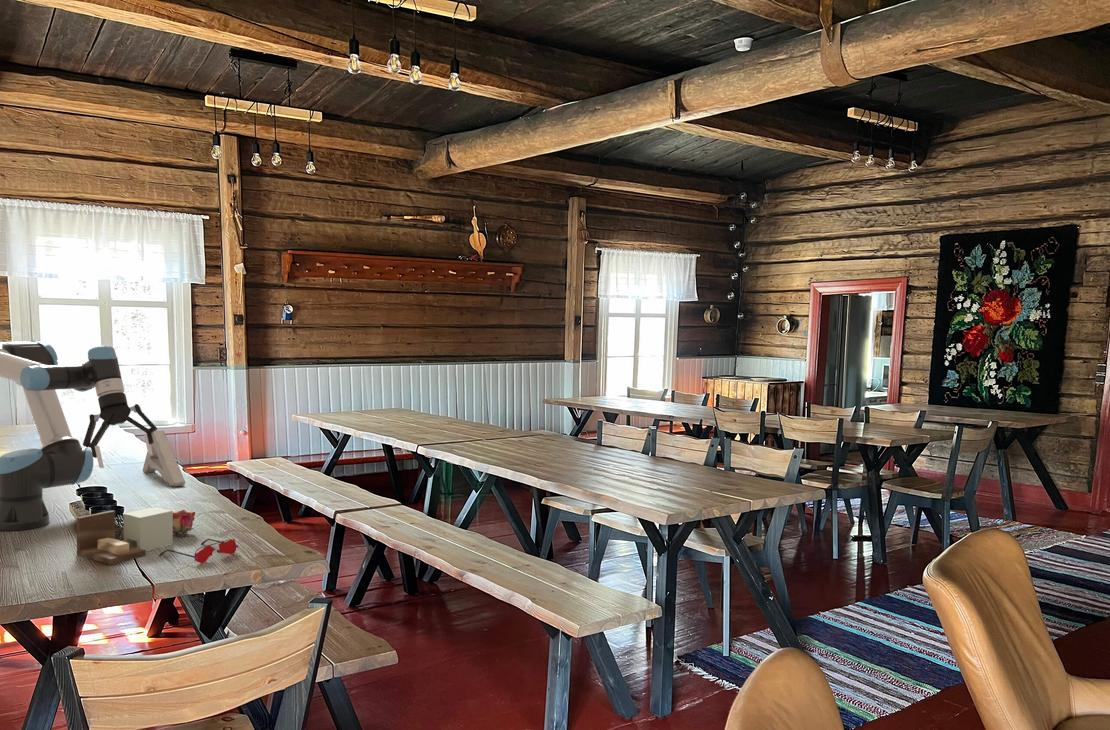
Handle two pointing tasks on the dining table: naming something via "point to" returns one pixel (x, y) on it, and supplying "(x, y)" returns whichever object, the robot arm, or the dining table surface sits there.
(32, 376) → the robot arm
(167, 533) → the cabinet block
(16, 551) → the dining table surface
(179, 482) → the wooden letter a
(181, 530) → the flower
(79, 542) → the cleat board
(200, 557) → the glasses
